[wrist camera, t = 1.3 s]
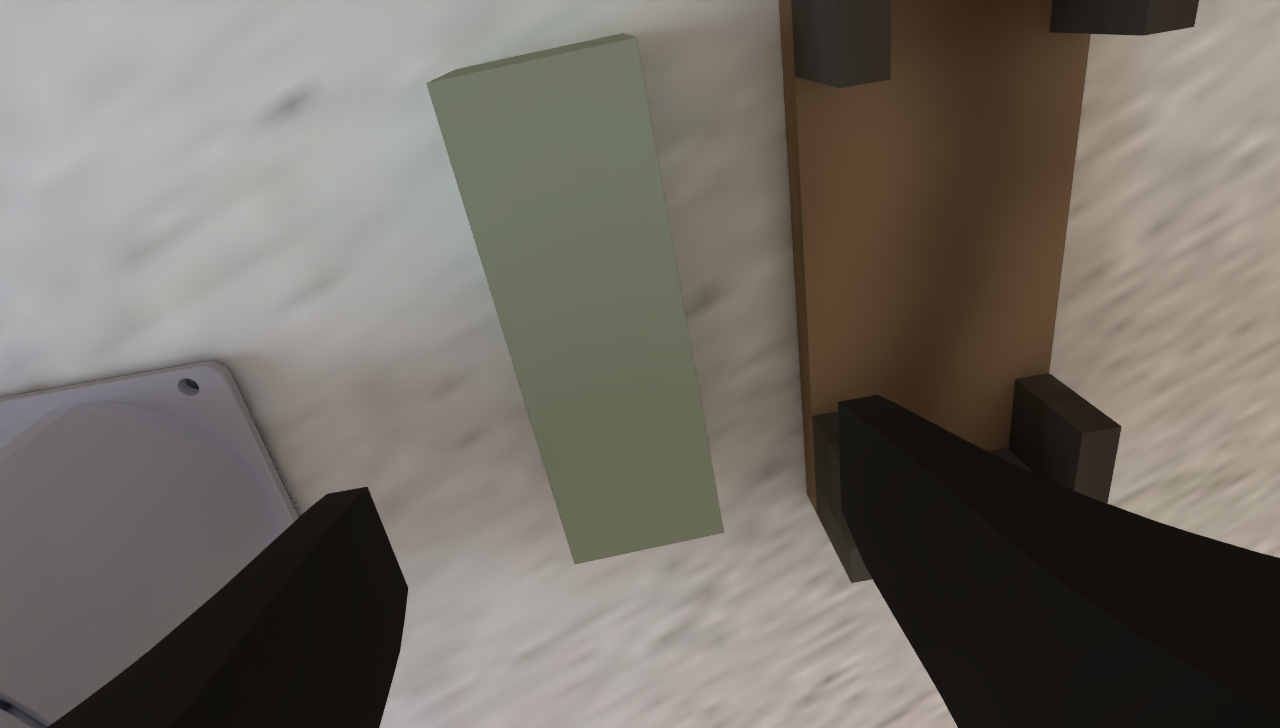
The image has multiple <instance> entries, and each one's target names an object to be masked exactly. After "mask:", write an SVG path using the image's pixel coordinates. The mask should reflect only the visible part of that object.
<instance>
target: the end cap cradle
mask: <svg viewBox="0 0 1280 728" xmlns="http://www.w3.org/2000/svg"><path fill="white" fill-rule="evenodd" d="M1198 2H1199V0H779V10H780V27H781V45H782V62H783V80H784V97H785V115H786V132H787V150H788V167H789V184H790V202H791V219H792V237H793V254H794V272H795V289H796V307H797V324H798V342H799V359H800V377H801V394H802V412H803V429H804V447H805V464H806V482H807V495H808V497H809V499H810V501H811V503H812V505H813V507H814V509H815V511H816V513H817V515H818V517H819V519H820V521H821V523H822V525H823V527H824V529H825V531H826V533H827V535H828V537H829V539H830V541H831V543H832V545H833V547H834V549H835V551H836V553H837V555H838V557H839V559H840V561H841V563H842V565H843V567H844V569H845V571H846V573H847V575H848V577H849V579H850V581H851V583H854V582H859V581H865V580H870V579H872V577H871V575H870V574H869V572H868V570H867V568H866V567H865V565H864V562H863V560H862V558H861V555H860V553H859V551H858V549H857V546H856V544H855V542H854V539H853V537H852V534H851V532H850V530H849V527H848V525H847V522H846V520H845V517H844V515H843V512H842V510H841V487H840V455H839V422H838V402H840V401H845V400H851V399H856V398H862V397H867V396H873V395H879V396H882V397H884V398H886V399H888V400H890V401H892V402H894V403H896V404H898V405H900V406H902V407H904V408H906V409H908V410H909V411H911V412H913V413H915V414H917V415H919V416H921V417H923V418H925V419H926V420H928V421H930V422H932V423H934V424H936V425H938V426H940V427H941V428H943V429H945V430H947V431H949V432H951V433H953V434H955V435H957V436H959V437H960V438H962V439H964V440H966V441H968V442H970V443H972V444H974V445H976V446H978V447H980V448H982V449H984V450H986V451H988V452H990V453H992V454H994V455H996V456H998V457H1000V458H1002V459H1004V460H1006V461H1009V462H1011V463H1013V464H1015V465H1017V466H1019V467H1021V468H1023V469H1026V470H1028V471H1030V472H1032V473H1035V474H1037V475H1039V476H1041V477H1044V478H1046V479H1048V480H1050V481H1053V482H1055V483H1057V484H1059V485H1062V486H1064V487H1066V488H1069V489H1071V490H1074V491H1076V492H1079V493H1081V494H1083V495H1086V496H1088V497H1091V498H1093V499H1096V500H1099V501H1102V502H1104V503H1108V497H1109V492H1110V486H1111V481H1112V475H1113V470H1114V464H1115V459H1116V453H1117V448H1118V442H1119V437H1120V431H1121V426H1120V425H1119V424H1117V423H1116V422H1115V421H1113V420H1112V419H1110V418H1109V417H1108V416H1106V415H1105V414H1104V413H1102V412H1101V411H1100V410H1098V409H1097V408H1096V407H1094V406H1093V405H1092V404H1090V403H1089V402H1087V401H1086V400H1085V399H1083V398H1082V397H1081V396H1079V395H1078V394H1077V393H1075V392H1074V391H1073V390H1071V389H1070V388H1069V387H1067V386H1066V385H1064V384H1063V383H1062V382H1060V381H1059V380H1058V379H1056V378H1055V377H1054V376H1052V375H1051V374H1050V373H1049V368H1050V360H1051V352H1052V344H1053V336H1054V328H1055V319H1056V311H1057V303H1058V295H1059V287H1060V279H1061V270H1062V262H1063V254H1064V246H1065V238H1066V230H1067V221H1068V213H1069V205H1070V197H1071V189H1072V181H1073V172H1074V164H1075V156H1076V148H1077V140H1078V131H1079V123H1080V115H1081V107H1082V99H1083V91H1084V82H1085V74H1086V66H1087V58H1088V50H1089V42H1090V34H1114V35H1149V34H1155V33H1161V32H1166V31H1172V30H1178V29H1184V28H1189V27H1194V24H1195V19H1196V13H1197V8H1198Z"/></svg>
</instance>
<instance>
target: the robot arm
mask: <svg viewBox="0 0 1280 728" xmlns="http://www.w3.org/2000/svg"><path fill="white" fill-rule="evenodd" d="M185 378H187V379H191V380H193V381H195V382H196V383H197V384H198V385H199V389H194V388H192V387H190V386H188V384H187V383H186V382H185ZM838 422H839V455H840V487H841V510H842V512H843V515H844V517H845V520H846V522H847V525H848V527H849V530H850V532H851V534H852V537H853V539H854V542H855V544H856V546H857V549H858V551H859V553H860V555H861V558H862V560H863V562H864V565H865V567H866V568H867V570H868V572H869V574H870V575H871V577H872V579H873V581H874V582H875V584H876V586H877V588H878V589H879V591H880V593H881V594H882V596H883V598H884V600H885V601H886V603H887V605H888V606H889V608H890V610H891V612H892V613H893V615H894V617H895V618H896V620H897V622H898V623H899V625H900V627H901V629H902V630H903V632H904V634H905V635H906V637H907V639H908V640H909V642H910V644H911V645H912V647H913V649H914V651H915V652H916V654H917V656H918V657H919V659H920V661H921V662H922V664H923V666H924V668H925V669H926V671H927V673H928V674H929V676H930V678H931V679H932V681H933V683H934V684H935V686H936V688H937V690H938V691H939V693H940V695H941V697H942V698H943V700H944V702H945V704H946V706H947V708H948V710H949V712H950V713H951V715H952V717H953V719H954V721H955V723H956V725H957V727H958V728H1280V558H1277V557H1273V556H1270V555H1266V554H1262V553H1258V552H1255V551H1251V550H1248V549H1244V548H1241V547H1238V546H1234V545H1231V544H1227V543H1224V542H1221V541H1217V540H1214V539H1211V538H1207V537H1204V536H1200V535H1197V534H1194V533H1190V532H1187V531H1184V530H1181V529H1178V528H1175V527H1172V526H1169V525H1166V524H1163V523H1160V522H1157V521H1154V520H1151V519H1148V518H1145V517H1142V516H1140V515H1137V514H1134V513H1131V512H1129V511H1126V510H1123V509H1121V508H1118V507H1115V506H1112V505H1110V504H1107V503H1104V502H1102V501H1099V500H1096V499H1093V498H1091V497H1088V496H1086V495H1083V494H1081V493H1079V492H1076V491H1074V490H1071V489H1069V488H1066V487H1064V486H1062V485H1059V484H1057V483H1055V482H1053V481H1050V480H1048V479H1046V478H1044V477H1041V476H1039V475H1037V474H1035V473H1032V472H1030V471H1028V470H1026V469H1023V468H1021V467H1019V466H1017V465H1015V464H1013V463H1011V462H1009V461H1006V460H1004V459H1002V458H1000V457H998V456H996V455H994V454H992V453H990V452H988V451H986V450H984V449H982V448H980V447H978V446H976V445H974V444H972V443H970V442H968V441H966V440H964V439H962V438H960V437H959V436H957V435H955V434H953V433H951V432H949V431H947V430H945V429H943V428H941V427H940V426H938V425H936V424H934V423H932V422H930V421H928V420H926V419H925V418H923V417H921V416H919V415H917V414H915V413H913V412H911V411H909V410H908V409H906V408H904V407H902V406H900V405H898V404H896V403H894V402H892V401H890V400H888V399H886V398H884V397H882V396H879V395H873V396H867V397H862V398H856V399H851V400H845V401H840V402H838ZM407 594H408V586H407V584H406V581H405V579H404V576H403V574H402V571H401V569H400V567H399V564H398V562H397V559H396V557H395V554H394V552H393V549H392V547H391V544H390V542H389V539H388V537H387V534H386V532H385V529H384V527H383V524H382V522H381V519H380V517H379V514H378V512H377V509H376V507H375V505H374V502H373V500H372V497H371V495H370V492H369V490H368V487H363V488H358V489H352V490H346V491H341V492H335V493H330V494H327V495H325V496H324V497H323V498H321V499H320V500H319V501H318V502H316V503H315V504H314V505H313V506H311V507H310V508H309V509H308V510H307V511H306V512H305V513H303V514H302V515H301V516H300V517H299V518H298V515H297V513H296V511H295V509H294V507H293V505H292V503H291V500H290V498H289V496H288V494H287V492H286V490H285V488H284V486H283V483H282V481H281V479H280V477H279V475H278V473H277V471H276V468H275V466H274V464H273V462H272V460H271V458H270V456H269V454H268V451H267V449H266V447H265V445H264V443H263V441H262V439H261V436H260V434H259V432H258V430H257V428H256V426H255V424H254V421H253V419H252V417H251V415H250V413H249V411H248V409H247V407H246V404H245V402H244V400H243V398H242V396H241V394H240V392H239V389H238V387H237V385H236V383H235V381H234V379H233V377H232V375H231V373H230V372H229V370H228V369H227V368H226V367H224V366H223V365H221V364H219V363H216V362H213V361H205V362H199V363H194V364H188V365H182V366H177V367H171V368H165V369H160V370H154V371H149V372H143V373H137V374H132V375H126V376H120V377H115V378H109V379H103V380H98V381H92V382H87V383H81V384H75V385H70V386H64V387H58V388H53V389H47V390H41V391H36V392H30V393H25V394H19V395H13V396H8V397H2V398H0V728H379V727H380V723H381V719H382V716H383V712H384V709H385V705H386V701H387V698H388V694H389V690H390V687H391V683H392V679H393V676H394V672H395V668H396V664H397V660H398V656H399V653H400V647H401V641H402V634H403V627H404V620H405V611H406V603H407Z"/></svg>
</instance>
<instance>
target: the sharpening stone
mask: <svg viewBox="0 0 1280 728" xmlns="http://www.w3.org/2000/svg"><path fill="white" fill-rule="evenodd" d="M426 84H427V87H428V90H429V94H430V97H431V100H432V103H433V106H434V110H435V113H436V116H437V119H438V123H439V126H440V129H441V132H442V136H443V139H444V142H445V145H446V149H447V152H448V155H449V158H450V162H451V165H452V168H453V171H454V175H455V178H456V181H457V184H458V187H459V191H460V194H461V197H462V200H463V204H464V207H465V210H466V213H467V217H468V220H469V223H470V226H471V230H472V233H473V236H474V239H475V243H476V246H477V249H478V252H479V256H480V259H481V262H482V265H483V268H484V272H485V275H486V278H487V281H488V285H489V288H490V291H491V294H492V298H493V301H494V304H495V307H496V311H497V314H498V317H499V320H500V324H501V327H502V330H503V333H504V337H505V340H506V343H507V346H508V350H509V353H510V356H511V359H512V362H513V366H514V369H515V372H516V375H517V379H518V382H519V385H520V388H521V392H522V395H523V398H524V401H525V405H526V408H527V411H528V414H529V418H530V421H531V424H532V427H533V431H534V434H535V437H536V440H537V443H538V447H539V450H540V453H541V456H542V460H543V463H544V466H545V469H546V473H547V476H548V479H549V482H550V486H551V489H552V492H553V495H554V499H555V502H556V505H557V508H558V512H559V515H560V518H561V521H562V525H563V528H564V531H565V534H566V537H567V541H568V544H569V547H570V550H571V554H572V557H573V560H574V563H575V564H579V563H583V562H588V561H593V560H597V559H602V558H607V557H612V556H616V555H621V554H626V553H630V552H635V551H640V550H644V549H649V548H654V547H658V546H663V545H668V544H672V543H677V542H682V541H687V540H691V539H696V538H701V537H705V536H710V535H715V534H719V533H724V530H723V524H722V518H721V513H720V507H719V502H718V496H717V490H716V485H715V479H714V473H713V468H712V462H711V456H710V451H709V445H708V439H707V434H706V428H705V422H704V417H703V411H702V406H701V400H700V394H699V389H698V383H697V377H696V372H695V366H694V360H693V355H692V349H691V343H690V338H689V332H688V327H687V321H686V315H685V310H684V304H683V298H682V293H681V287H680V281H679V276H678V270H677V264H676V259H675V253H674V248H673V242H672V236H671V231H670V225H669V219H668V214H667V208H666V202H665V197H664V191H663V185H662V180H661V174H660V169H659V163H658V157H657V152H656V146H655V140H654V135H653V129H652V123H651V118H650V112H649V106H648V101H647V95H646V90H645V84H644V78H643V73H642V67H641V61H640V56H639V50H638V44H637V39H636V37H632V36H629V35H626V34H623V33H622V34H618V35H613V36H608V37H604V38H599V39H594V40H590V41H585V42H581V43H576V44H571V45H567V46H562V47H558V48H553V49H548V50H544V51H539V52H534V53H530V54H525V55H521V56H516V57H511V58H507V59H502V60H497V61H493V62H488V63H484V64H479V65H474V66H470V67H465V68H460V69H456V70H453V71H451V72H449V73H447V74H445V75H443V76H440V77H438V78H436V79H434V80H432V81H430V82H428V83H426Z"/></svg>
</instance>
